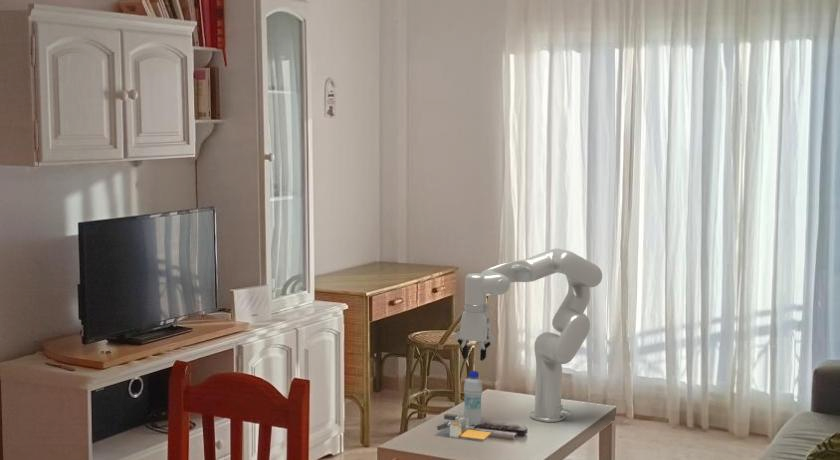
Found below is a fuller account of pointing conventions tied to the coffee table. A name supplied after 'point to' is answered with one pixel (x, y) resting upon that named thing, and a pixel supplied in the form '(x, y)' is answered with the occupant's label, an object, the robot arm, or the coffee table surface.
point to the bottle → (473, 398)
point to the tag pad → (475, 434)
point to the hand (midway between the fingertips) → (473, 358)
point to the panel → (447, 434)
